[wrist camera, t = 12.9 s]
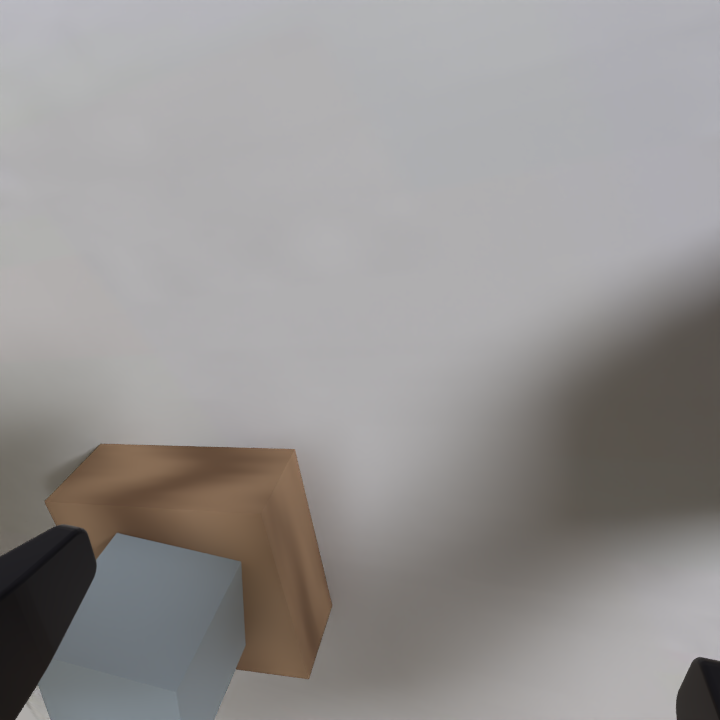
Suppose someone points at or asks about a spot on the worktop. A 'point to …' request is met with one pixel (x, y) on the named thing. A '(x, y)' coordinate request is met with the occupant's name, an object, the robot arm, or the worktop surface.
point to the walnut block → (216, 531)
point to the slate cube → (150, 637)
